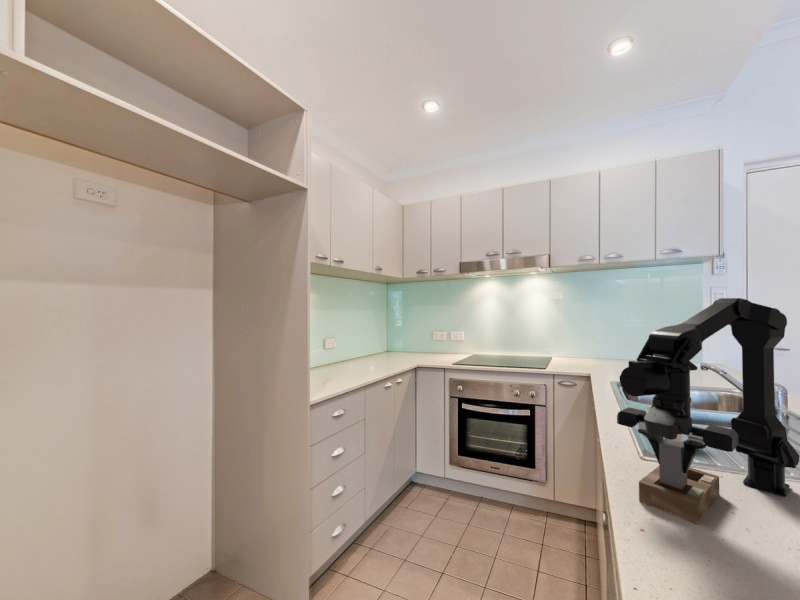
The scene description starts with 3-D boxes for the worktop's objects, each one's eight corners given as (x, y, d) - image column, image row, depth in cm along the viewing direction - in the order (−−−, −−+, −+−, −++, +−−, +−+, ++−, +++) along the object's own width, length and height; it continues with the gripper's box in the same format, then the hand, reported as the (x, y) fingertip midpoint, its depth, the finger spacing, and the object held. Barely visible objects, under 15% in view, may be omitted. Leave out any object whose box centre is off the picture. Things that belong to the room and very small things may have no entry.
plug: (665, 476, 73) (665, 438, 73) (687, 483, 70) (686, 444, 70) (659, 481, 71) (659, 442, 71) (681, 489, 68) (680, 448, 68)
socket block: (666, 477, 81) (665, 459, 81) (719, 495, 74) (719, 474, 74) (639, 500, 72) (638, 480, 72) (697, 524, 64) (696, 500, 64)
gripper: (605, 389, 73) (606, 463, 73) (723, 411, 58) (725, 504, 58) (627, 382, 80) (628, 449, 80) (738, 399, 65) (739, 483, 65)
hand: (673, 469), depth 71 cm, fingers closed on plug, 4 cm apart
